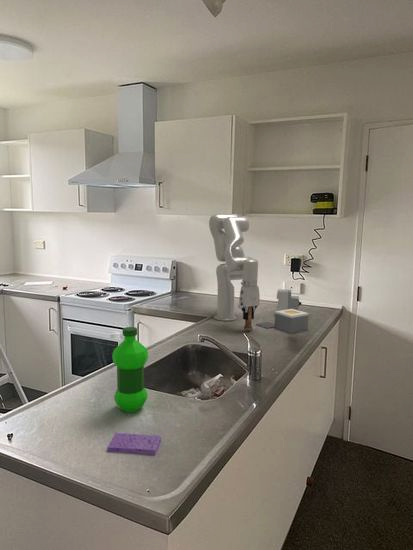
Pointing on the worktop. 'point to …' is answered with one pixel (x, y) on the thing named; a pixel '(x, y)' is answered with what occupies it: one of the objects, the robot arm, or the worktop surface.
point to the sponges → (134, 443)
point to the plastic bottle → (130, 372)
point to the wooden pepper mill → (247, 322)
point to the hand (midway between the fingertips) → (248, 318)
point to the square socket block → (291, 321)
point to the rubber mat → (266, 325)
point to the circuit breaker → (287, 300)
